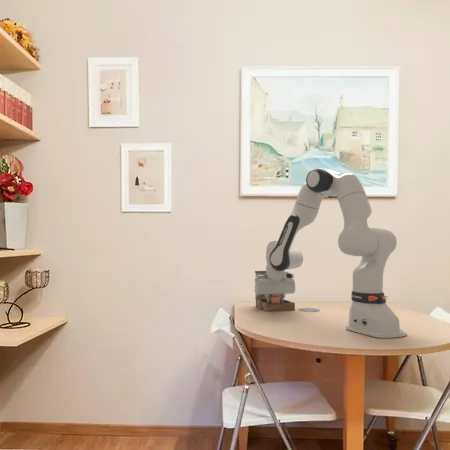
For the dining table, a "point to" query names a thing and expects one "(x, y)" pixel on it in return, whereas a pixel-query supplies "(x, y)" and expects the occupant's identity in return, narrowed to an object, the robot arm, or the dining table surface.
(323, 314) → the dining table surface
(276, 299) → the orange cylinder
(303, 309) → the grey flat disc
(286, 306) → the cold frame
